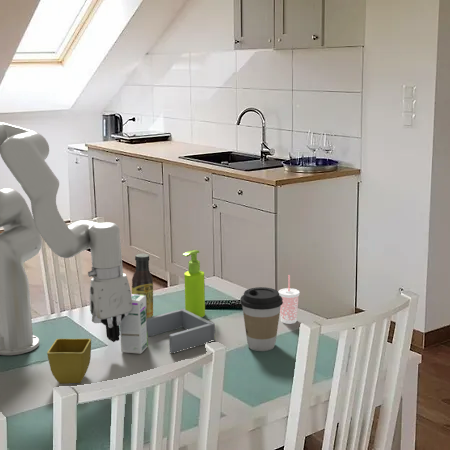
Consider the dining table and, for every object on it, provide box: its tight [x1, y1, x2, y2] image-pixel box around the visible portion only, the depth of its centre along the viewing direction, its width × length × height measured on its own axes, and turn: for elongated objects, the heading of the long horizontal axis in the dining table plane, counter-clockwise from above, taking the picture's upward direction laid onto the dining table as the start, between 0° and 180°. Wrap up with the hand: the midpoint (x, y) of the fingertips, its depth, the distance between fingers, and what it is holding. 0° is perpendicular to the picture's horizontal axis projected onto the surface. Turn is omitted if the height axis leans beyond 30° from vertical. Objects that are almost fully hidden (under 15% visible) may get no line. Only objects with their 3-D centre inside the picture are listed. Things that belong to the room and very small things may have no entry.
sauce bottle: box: [131, 253, 154, 318], centre depth 212 cm, size 7×6×20 cm
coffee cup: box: [239, 286, 283, 352], centre depth 193 cm, size 11×11×15 cm
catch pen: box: [147, 308, 216, 354], centre depth 200 cm, size 14×15×5 cm
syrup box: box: [119, 293, 149, 355], centre depth 192 cm, size 6×6×14 cm
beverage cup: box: [277, 274, 300, 325], centre depth 211 cm, size 6×6×14 cm
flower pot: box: [46, 338, 92, 385], centre depth 175 cm, size 9×9×9 cm
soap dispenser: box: [182, 249, 206, 318], centre depth 215 cm, size 6×7×20 cm
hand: (113, 339), depth 188 cm, fingers closed
